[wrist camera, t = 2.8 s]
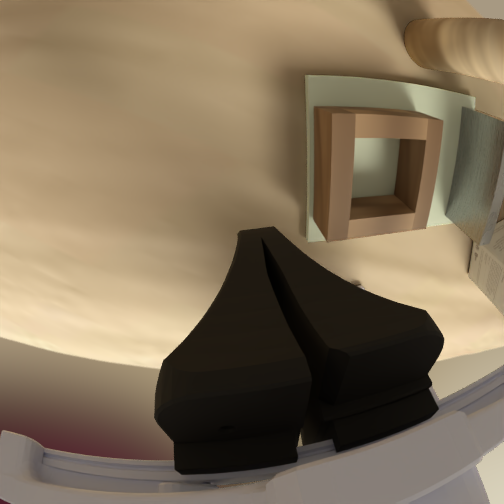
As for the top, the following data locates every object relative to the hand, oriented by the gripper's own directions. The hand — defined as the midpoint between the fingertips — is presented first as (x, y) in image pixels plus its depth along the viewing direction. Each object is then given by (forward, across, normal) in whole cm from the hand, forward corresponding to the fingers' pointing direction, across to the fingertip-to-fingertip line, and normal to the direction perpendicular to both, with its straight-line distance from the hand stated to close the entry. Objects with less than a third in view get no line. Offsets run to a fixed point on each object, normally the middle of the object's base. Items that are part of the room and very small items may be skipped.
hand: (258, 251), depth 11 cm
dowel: (+10, -14, -9) cm, 20 cm away
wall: (+9, -19, 0) cm, 21 cm away
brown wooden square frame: (+9, -9, 0) cm, 13 cm away
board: (+10, -12, 0) cm, 16 cm away
